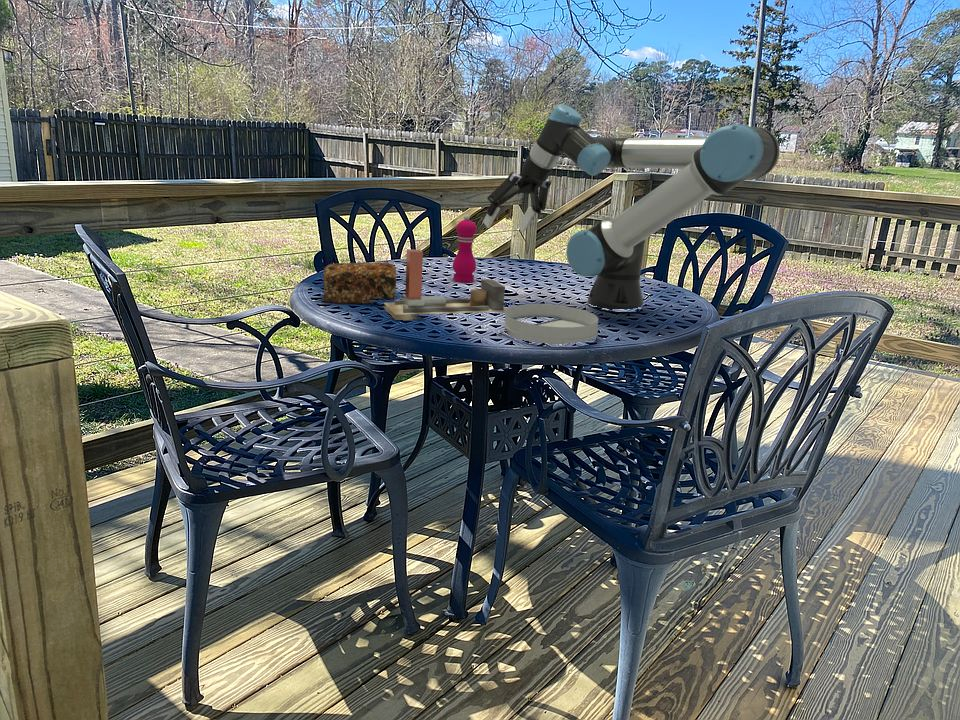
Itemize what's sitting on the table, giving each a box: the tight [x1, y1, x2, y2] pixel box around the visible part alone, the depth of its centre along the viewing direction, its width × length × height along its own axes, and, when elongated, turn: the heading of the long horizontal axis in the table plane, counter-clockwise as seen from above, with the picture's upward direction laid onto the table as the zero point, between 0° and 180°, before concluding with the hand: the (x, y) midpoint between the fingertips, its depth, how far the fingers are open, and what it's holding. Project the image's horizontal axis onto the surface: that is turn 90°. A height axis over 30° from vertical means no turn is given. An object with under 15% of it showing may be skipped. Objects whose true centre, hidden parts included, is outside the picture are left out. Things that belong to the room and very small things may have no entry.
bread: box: [323, 261, 397, 304], centre depth 193 cm, size 19×11×10 cm, turn 98°
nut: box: [470, 288, 486, 306], centre depth 188 cm, size 4×4×4 cm
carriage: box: [401, 248, 447, 308], centre depth 182 cm, size 10×6×14 cm, turn 110°
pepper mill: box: [452, 214, 477, 283], centre depth 223 cm, size 7×7×20 cm
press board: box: [382, 278, 508, 321], centre depth 186 cm, size 30×12×8 cm, turn 110°
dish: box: [503, 303, 599, 344], centre depth 172 cm, size 22×22×5 cm
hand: (504, 226), depth 207 cm, fingers open, 13 cm apart
